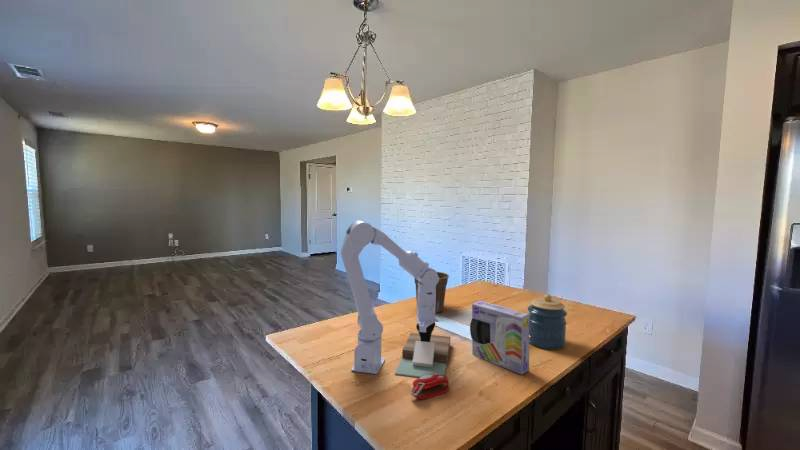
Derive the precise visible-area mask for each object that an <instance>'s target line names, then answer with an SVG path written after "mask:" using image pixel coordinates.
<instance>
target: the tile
mask: <svg viewBox="0 0 800 450" xmlns="http://www.w3.org/2000/svg"><path fill="white" fill-rule="evenodd" d="M434 351H435V343H432V342H423V341H416V342H415V349H414V355H413V361H412V362H413V365H416V366H425V367H433V360H434Z"/></svg>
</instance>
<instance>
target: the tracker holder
mask: <svg viewBox="0 0 800 450" xmlns="http://www.w3.org/2000/svg"><path fill="white" fill-rule="evenodd" d="M440 384H446V385H445V387H444V388H442V389H438V390H436V391H435V390H434V391H432V392H429V393H426V394H422V395H419V394H421V393H423V390H427V389H430V388H433V387H435V386H438V385H440ZM412 385H413V388H412V389H411V393H410V396H412V397H413V398H416V399H419V400H425V399H430V398H433V397H436V396H439V395H442V394H445V393H447V392H448V390H449V386H450V384H449V379H448V377H447V376H446V375H433V374H428V375H423V376H421V377H419V378H418V377H417V379H414V380H413V382H412Z"/></svg>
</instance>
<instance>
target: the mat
mask: <svg viewBox="0 0 800 450" xmlns="http://www.w3.org/2000/svg"><path fill="white" fill-rule="evenodd" d="M412 361H413V360H412V359H403V358H401V360H400V362H399V363H398V365H397V368H396V370H395V373H394V375H397V376H403V377H405V376H406V377H410V378H411V377H413V378H417V379H418V378H419V377H421V376H423V375H428V374H433V375H444V376H446V375H445V374H446V369H447V364H445V363H437V362H433V367H425V366H416V365H413V362H412Z"/></svg>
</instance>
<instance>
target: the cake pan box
mask: <svg viewBox="0 0 800 450" xmlns="http://www.w3.org/2000/svg"><path fill="white" fill-rule="evenodd" d="M469 332H470V333H469V334H470V337H471V338H470V339H471V341H472V343H471V345H472V346H471V349H472V350H471V351H472V353H471V354H472V355H473V356H476V357H478V358H480V359H483V360H484V361H488V362H490V363H492V364H494V365H497V366H499V367H502V368H504V369H506V370H509V371H510V372H511V371H512V372H514V373H516V374H519V375H521V376H522V375H524V374H525V373H527V372H529V371H530V343H529V313H525V312H521V311H519V310H515V309H511V308H509V307H506V306H502V305H499V304H494V303H489V302H486V301H483V300H479V301H476V302H473V303H472V304H471V320H470V324H469Z"/></svg>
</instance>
